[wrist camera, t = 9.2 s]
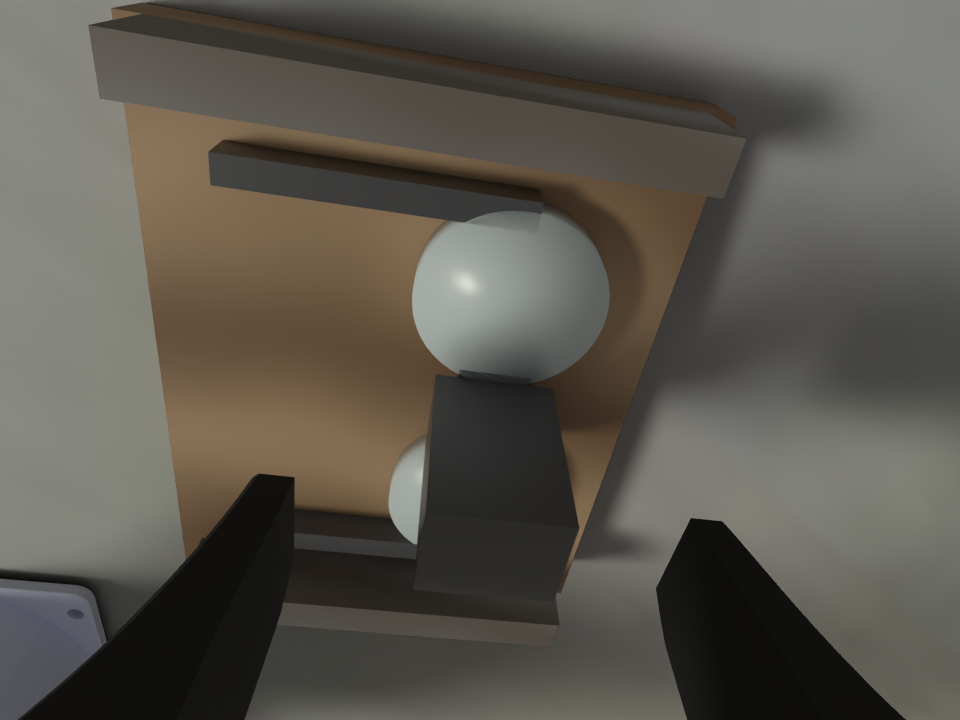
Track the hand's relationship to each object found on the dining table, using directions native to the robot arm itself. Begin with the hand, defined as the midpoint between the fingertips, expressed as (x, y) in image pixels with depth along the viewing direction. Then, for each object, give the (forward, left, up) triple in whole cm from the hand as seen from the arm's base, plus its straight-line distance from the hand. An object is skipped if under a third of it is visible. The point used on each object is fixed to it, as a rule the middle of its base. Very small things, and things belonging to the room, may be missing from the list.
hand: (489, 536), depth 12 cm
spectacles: (0, +2, -4) cm, 5 cm away
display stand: (0, +2, -5) cm, 6 cm away
